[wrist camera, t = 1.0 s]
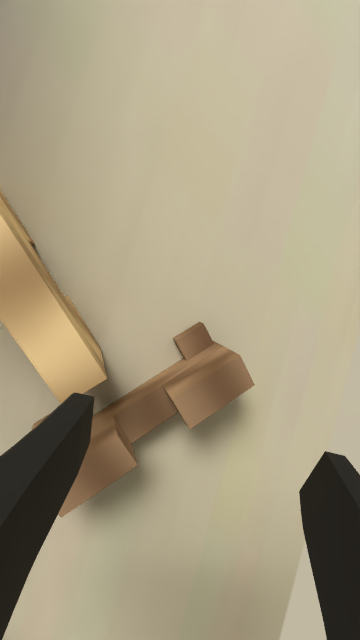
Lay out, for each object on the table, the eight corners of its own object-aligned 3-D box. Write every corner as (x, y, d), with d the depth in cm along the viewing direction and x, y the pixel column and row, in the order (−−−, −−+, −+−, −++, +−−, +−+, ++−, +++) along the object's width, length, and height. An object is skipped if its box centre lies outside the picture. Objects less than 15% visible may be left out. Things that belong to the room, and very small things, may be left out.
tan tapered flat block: (99, 346, 22) (107, 378, 16) (68, 365, 22) (62, 406, 15) (-6, 180, 19) (-54, 131, 12) (-45, 198, 18) (-117, 157, 12)
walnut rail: (79, 488, 23) (78, 538, 19) (31, 425, 22) (17, 464, 17) (234, 383, 26) (265, 406, 21) (201, 320, 24) (228, 331, 20)
